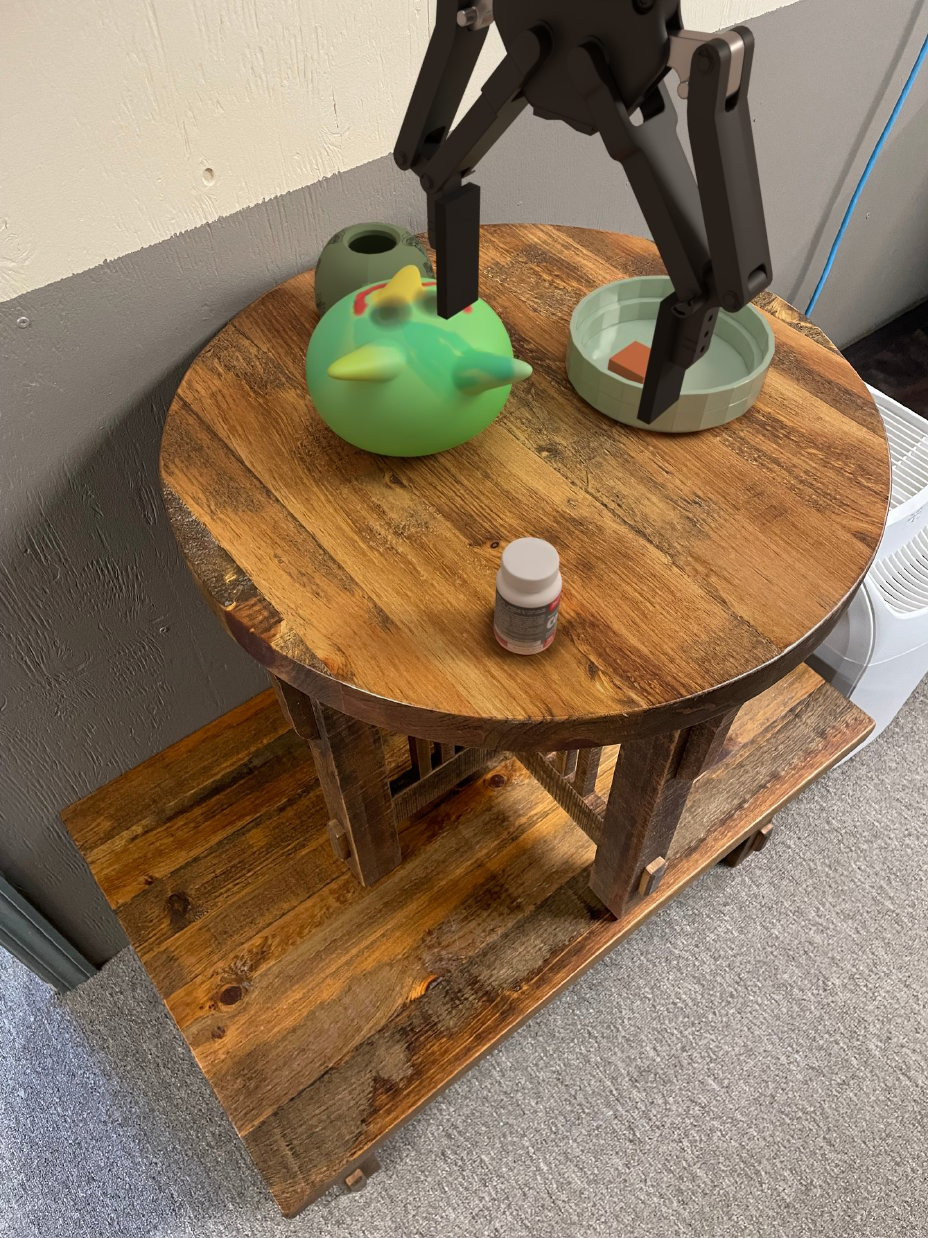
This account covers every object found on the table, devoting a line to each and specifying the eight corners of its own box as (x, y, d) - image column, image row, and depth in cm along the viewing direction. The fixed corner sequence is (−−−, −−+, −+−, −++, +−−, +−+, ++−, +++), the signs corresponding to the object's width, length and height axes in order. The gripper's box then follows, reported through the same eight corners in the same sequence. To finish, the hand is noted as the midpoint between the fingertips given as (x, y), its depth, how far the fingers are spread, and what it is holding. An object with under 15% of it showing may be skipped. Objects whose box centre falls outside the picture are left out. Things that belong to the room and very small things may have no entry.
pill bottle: (557, 656, 65) (567, 584, 58) (493, 656, 65) (497, 584, 58) (553, 607, 68) (563, 533, 61) (493, 606, 68) (496, 532, 61)
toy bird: (487, 368, 86) (492, 224, 75) (532, 482, 76) (546, 336, 65) (307, 392, 84) (283, 247, 72) (329, 513, 74) (305, 368, 62)
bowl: (795, 369, 86) (811, 325, 82) (692, 467, 78) (704, 423, 74) (636, 297, 94) (644, 254, 90) (525, 379, 85) (529, 334, 81)
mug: (325, 282, 96) (315, 204, 89) (441, 285, 96) (440, 207, 89) (304, 370, 86) (291, 291, 79) (434, 373, 86) (432, 294, 79)
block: (662, 393, 83) (670, 358, 80) (636, 412, 81) (643, 377, 78) (628, 375, 84) (635, 340, 81) (603, 394, 83) (608, 358, 79)
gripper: (281, -205, 33) (341, 297, 50) (902, -75, 23) (715, 500, 40) (416, -231, 37) (429, 247, 53) (1006, -128, 26) (794, 421, 43)
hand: (551, 356), depth 47 cm, fingers open, 13 cm apart
